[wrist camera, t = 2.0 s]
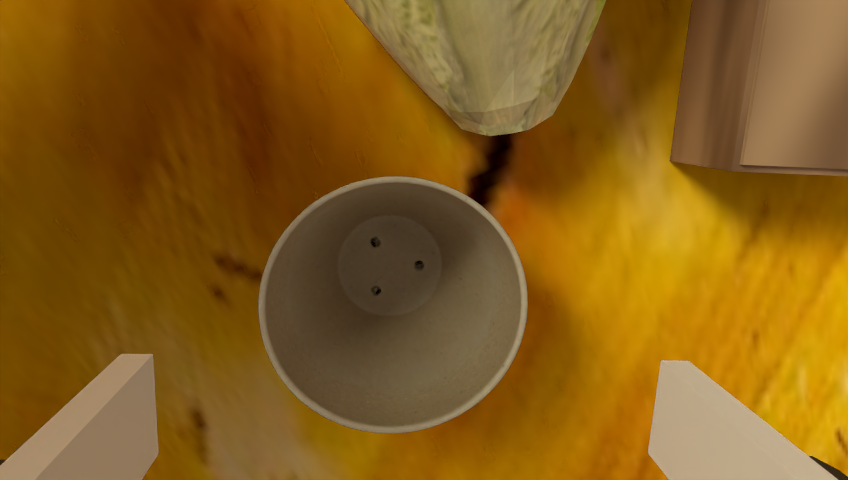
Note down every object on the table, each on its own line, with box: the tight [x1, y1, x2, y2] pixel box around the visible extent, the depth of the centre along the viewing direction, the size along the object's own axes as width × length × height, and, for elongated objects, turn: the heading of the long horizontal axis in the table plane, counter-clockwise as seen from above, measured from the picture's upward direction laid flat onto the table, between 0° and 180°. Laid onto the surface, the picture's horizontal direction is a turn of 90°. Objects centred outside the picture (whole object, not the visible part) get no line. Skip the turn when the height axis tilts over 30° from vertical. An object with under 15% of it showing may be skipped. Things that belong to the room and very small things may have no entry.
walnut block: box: [670, 0, 848, 176], centre depth 25 cm, size 11×11×5 cm
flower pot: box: [258, 176, 528, 434], centre depth 25 cm, size 10×10×7 cm
